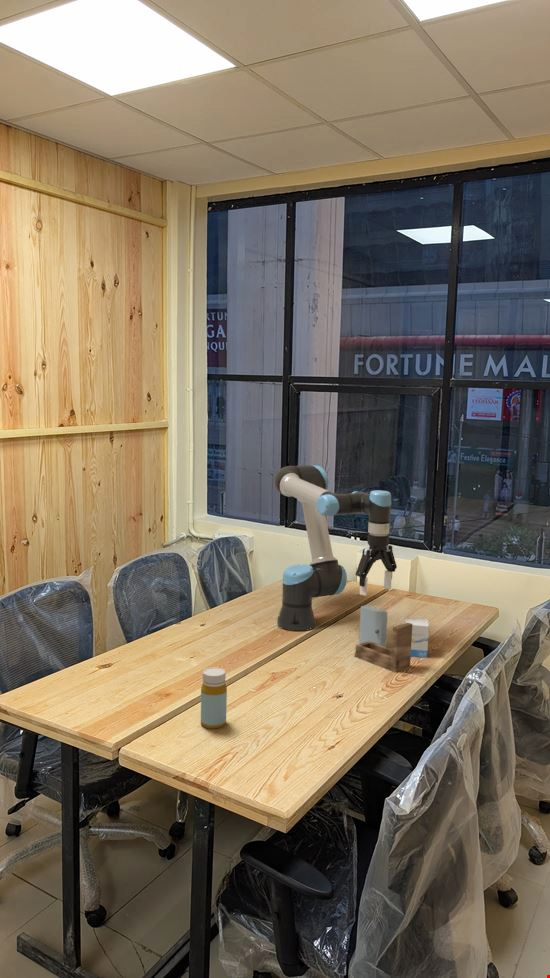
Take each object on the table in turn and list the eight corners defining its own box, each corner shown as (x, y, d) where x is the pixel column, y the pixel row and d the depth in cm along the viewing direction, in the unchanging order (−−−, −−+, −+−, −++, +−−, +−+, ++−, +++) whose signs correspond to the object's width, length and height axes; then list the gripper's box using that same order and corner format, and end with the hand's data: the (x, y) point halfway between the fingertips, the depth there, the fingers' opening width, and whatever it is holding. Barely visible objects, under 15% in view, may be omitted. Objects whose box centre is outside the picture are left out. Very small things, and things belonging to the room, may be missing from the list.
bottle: (200, 718, 198) (201, 666, 196) (225, 717, 198) (226, 666, 196) (200, 729, 191) (201, 676, 189) (226, 729, 192) (227, 676, 190)
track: (354, 656, 248) (356, 615, 246) (369, 651, 253) (371, 610, 251) (395, 672, 235) (397, 628, 233) (410, 666, 240) (412, 624, 238)
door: (357, 643, 261) (359, 607, 259) (364, 641, 263) (366, 605, 261) (378, 651, 253) (380, 613, 251) (385, 649, 256) (387, 611, 254)
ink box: (427, 658, 248) (429, 626, 247) (402, 655, 250) (404, 623, 248) (427, 649, 257) (429, 618, 255) (403, 647, 258) (405, 616, 257)
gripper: (363, 540, 242) (360, 600, 245) (408, 531, 259) (405, 588, 262) (347, 536, 247) (344, 595, 250) (392, 528, 264) (389, 583, 267)
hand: (375, 591), depth 256 cm, fingers open, 13 cm apart
